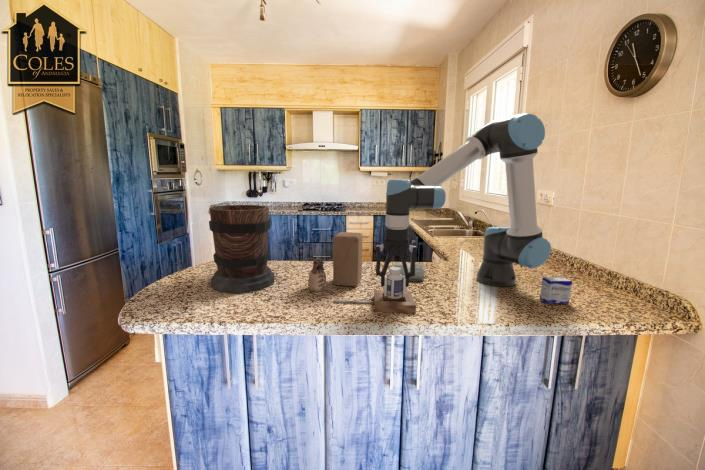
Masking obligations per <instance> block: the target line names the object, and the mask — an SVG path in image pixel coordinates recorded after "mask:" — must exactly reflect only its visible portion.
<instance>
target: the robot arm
mask: <svg viewBox="0 0 705 470" xmlns="http://www.w3.org/2000/svg"><path fill="white" fill-rule="evenodd" d="M545 137H546V129H545V125H544V122H543V121H542V120H541V119H540V117H538V116H537V115H535V114H533V113H518V114H515V115H512V116H511V115H510V116H508V117H502V118H497V119H495V120H492V121H490V122H488V123H487V124H485V125H484V126H482V127H481V128H479V129H478V130H476V131H475V132H474V133H472V134H471V135H470V136H468V137H467V138H466V140H465V142H464V143H463V144H462V145H461V146H459V147H457V148H456V149H454V150H453V151H452V152H451V153H449V154H448V155H447V156H445V157H443V158H442V159H440V160H439V161H437V162H436V163H435V164H434V165H432V166H430V167H429V168H428V169H426V170H425V171H424V172H422V173H421V174H419V175H418V176H417V177H415V178H414V179H411V180H410V179H393V178H392V179H389V180H388V181H387V184H386V190H385V191H386V193H385V194H386V197H385V201H386V202H385V205H386V206H385V223H384V224H385V226H386V228H385V229H384V230H385V231H384V242H383V243H381V244H380V245H379V244H376V245H375V250H376V265H375V275H376V276H379V277H380V286H381V287H383V290H384V296H385V297H386V296H387V275H388V274H387V271H388V269H389V265H390V263H391V259H392V257H395V256H397V257H400V260H401V263H402V265H403V269H404V273H405V276H403V291H402V296H403V297H405V291H406V288H408V287H409V285H410V280H409V278H410V277H411V276H415V264H416V253H417V251H418V248H417V246H416V245H411V244H410V242H409V227H410V210H435V209H438V210H439V209H441V208H443V207H444V205H445V202H446V190H445V189H444V188H443V187H442V186H441V185H443V184H445V182H447V181H448V180H450V179H451V178H453V177H454V176H456V175H457V174H458V173H460V172H461V171H463V169H466V168H467V167H469V165H471V164H472V163H474V162H476V161H477V160H482V159H484V158H485V157H487V156H489V155H491V154H495V153H499V159H500V160H502V162H504V164H505V175H506V187H507V198H508V199H507V200H508V202H507V203H508V211H509V212H508V213H509V225H510V226H490V227H489V226H488V227H487V228H485V233H484V237H483V251H482V252H483V253H482V261H481V264H480V265H479V268H478V271H477V273H476V280H477V281H479V282H480V283H482V284H485V285H489V286H495V287H504V288H505V287H513V286H515V285H516V284H517V283H516V282H517V277H516V272H515V268H514V264H516V265H519V266H520V267H523V268H528V269H536V268H537V269H538V268H539V267H542V266H543V265H544V264H545V263H546V261H547V260H548V259H549V258H550V255H551V252H552V246H551V243H550V241H549V240H547V238H545V237H543V228H541V227H540V226H538V219H537V205H536V201H537V200H536V189H535V170H534V158H535V157H536V156H537V154H538V153H539V151H538V148H539V147H540V146H542V143H543V141H544V139H545ZM408 249H409V252H410V257H409V258H410V272H408V269H407V264H406V263H407V262H406V256H405V253H406V252H407V250H408ZM383 250H386V251H385V252H386V253H387V254H386V258H385V260H384V263H383V266H382V270H381V259H382V252H383Z"/></svg>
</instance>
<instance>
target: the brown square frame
mask: <svg viewBox="0 0 705 470" xmlns="http://www.w3.org/2000/svg"><path fill="white" fill-rule="evenodd" d="M373 298H374V299H373V300H374V301H372V300H371V301H370V300H365V301H364V300H345V299H344V300H341V299H340V300H339V299H335V300H334V299H333V304H334V303H335V304H337V303H338V304H358V303H360V304H364V305H366V304H367V305H374V312H378V313H379V312H382V313H406V314H407V313H408V314H409V313H410V314H416V313H417V305H416V302H415V299H414V296H413V292H412V291H411V290H405V297H403V296H402V297H401V298H398V299H393V298H389V297H387V296H386V297H385V296H384V289H374V293H373Z"/></svg>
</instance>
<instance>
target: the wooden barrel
mask: <svg viewBox="0 0 705 470" xmlns="http://www.w3.org/2000/svg"><path fill="white" fill-rule="evenodd" d="M209 216H210V220H208V225H209V230H210V232H212V237H213V239H212V240H213V248H214V253H213V255H212V256H213V257H212V258H213V262H214V264H215V265H216V268H217V270H215V271H214V273H213V276H212V277H211V278H210V287H211V288H212V290H213V291H216V292H217V293H218V292H219V293H221V294H223V293H225V294H246V293H253V292H259V291H261V290H265V289H267V288H270V287H271V286H272V285H273V284H274V283H275V272H273V271H272V269H271V268H270V267H269V266H268V261H269V260H270V253H271V252H270V250H269V230H270V229H271V226H272V224H271V222H272V221H271V218H270V207H269V206H267V205H258V204H257V205H255V204H231V205H230V204H229V205H218V206H212V207H209Z"/></svg>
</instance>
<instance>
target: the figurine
mask: <svg viewBox="0 0 705 470" xmlns="http://www.w3.org/2000/svg"><path fill="white" fill-rule="evenodd" d="M312 263H313V264H312V269H311V270H310V272H309V273H308V274H309V275H308V283H307V288H308V290H309V291H311V292H316V293H317V292H324V291H326V290H327V289H328V283H327V275H326V272H325V269H326V268H324V260H322V258H320V257H319V258H318V257H316V258H314V259H313V261H312Z"/></svg>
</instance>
